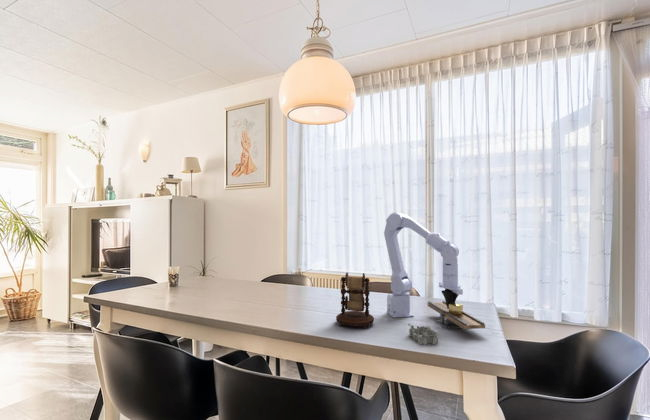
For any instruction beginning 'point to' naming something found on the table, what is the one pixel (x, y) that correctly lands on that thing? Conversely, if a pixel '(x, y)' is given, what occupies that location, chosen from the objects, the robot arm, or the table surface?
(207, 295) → the table surface
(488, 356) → the table surface
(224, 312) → the table surface
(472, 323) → the beam
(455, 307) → the brass weight
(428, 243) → the robot arm
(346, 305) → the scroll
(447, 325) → the pivot bracket
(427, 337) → the egg carton
